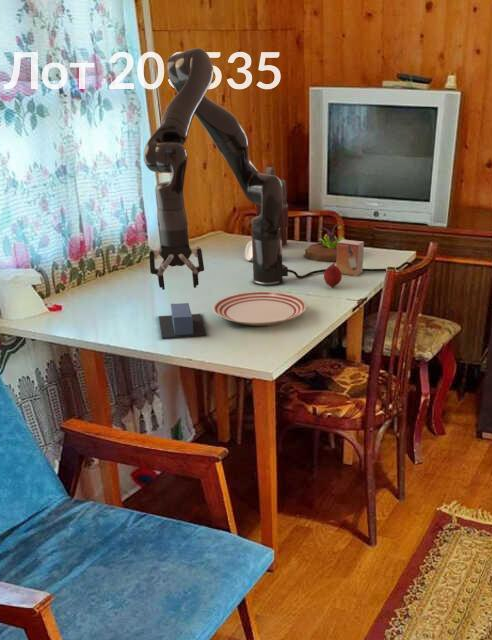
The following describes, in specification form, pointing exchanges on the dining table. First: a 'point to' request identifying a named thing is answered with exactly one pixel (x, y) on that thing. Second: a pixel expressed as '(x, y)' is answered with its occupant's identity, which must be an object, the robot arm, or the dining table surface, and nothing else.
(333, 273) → the onion
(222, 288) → the dining table surface
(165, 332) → the mat
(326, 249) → the plant
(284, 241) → the toy vending machine
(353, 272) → the small box
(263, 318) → the dinner plate
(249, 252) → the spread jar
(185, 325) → the blue block
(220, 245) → the dining table surface
